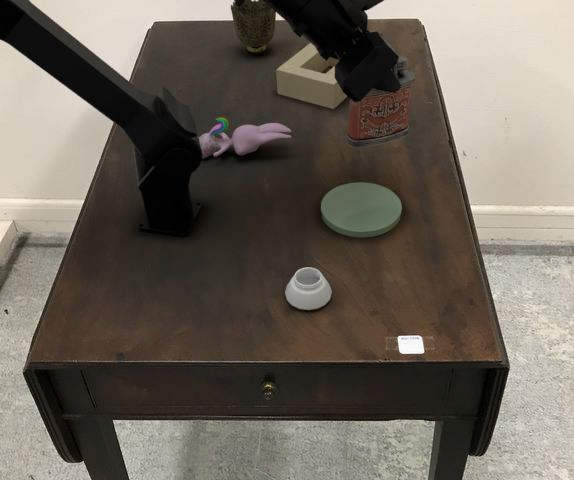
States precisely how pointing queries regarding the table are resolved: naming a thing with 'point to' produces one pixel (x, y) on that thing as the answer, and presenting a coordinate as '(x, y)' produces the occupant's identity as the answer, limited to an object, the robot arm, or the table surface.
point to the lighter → (382, 112)
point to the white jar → (308, 289)
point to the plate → (361, 209)
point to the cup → (254, 25)
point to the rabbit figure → (240, 137)
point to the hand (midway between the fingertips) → (392, 81)
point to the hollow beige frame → (310, 79)
